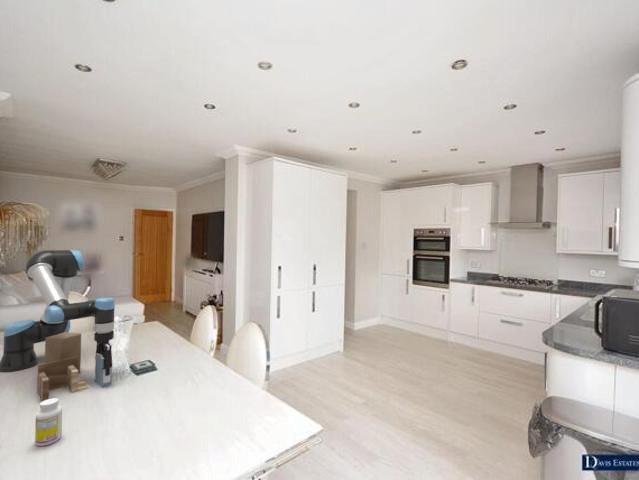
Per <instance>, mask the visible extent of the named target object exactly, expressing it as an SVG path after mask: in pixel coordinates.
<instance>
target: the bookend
mask: <svg viewBox="0 0 639 480" xmlns="http://www.w3.org/2000/svg"><path fill="white" fill-rule="evenodd" d="M66 387H67V388H68V390H69V391H70V392H71V393H72V394H74V393H77V392H80V391H84V390H87V389H89V387H90V386H89V385H88V384H87V383H86V382H85V380H79V374H78V370H77V369H76V368H75V367H74V366H73V365H71V366H67V386H66Z"/></svg>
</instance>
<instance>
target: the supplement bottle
mask: <svg viewBox="0 0 639 480" xmlns="http://www.w3.org/2000/svg"><path fill="white" fill-rule="evenodd" d="M62 424H63V408H62V406H61V405H59V398H57V397H55V398H53V397H52V398H49V399H48V400H45V401H43V402H42V401H40V403H39V410H38V411H37V412H36V414H35V427H34V429H35V430H34V431H35V434H34V436H35V438H34V442H35V445H36V446H39V447H43V446H44V447H46V446H47V445H51V444H54V443H55V442H58V441H59V439H61V438H62V434H63V433H62V431H63V430H62V429H63V428H62V427H63V425H62Z"/></svg>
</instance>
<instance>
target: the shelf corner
mask: <svg viewBox="0 0 639 480" xmlns="http://www.w3.org/2000/svg"><path fill="white" fill-rule="evenodd" d="M71 365H73V366H74V367H75V368H76V369H77V370H78V356H76V357H72V358H67V359H62V360H57V361H52V362H48V363H45V362H43V363H40V364H38V363H37V377H36V378H37V382H36V394H37V395H38V397H39V399H40V402H43V401H45V400H48V399H50V391H52V390H57V389H60V388H65V387H67V366H71Z"/></svg>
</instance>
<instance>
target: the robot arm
mask: <svg viewBox="0 0 639 480" xmlns="http://www.w3.org/2000/svg"><path fill="white" fill-rule="evenodd" d="M84 267H85V260H84V257H83V254H82V253H81V251H80V250H73V249H68V250H67V249H65V250H64V249H63V250H60V249H55V250H54V249H53V250H50V249H46V250H41V251H38V252H35V253H34V254H32V255H31V256H30V257H29V258H28V260H27V261H26V264H25V272H26V274H27V276H28V277H29V278H30V279H32V280H33V281H34V283H35V285H36V287H37V289H38V291H39V293H40V295H41V297H42V300H43V301H44V303H45V305H46V307H45V309H44V313H43V314H42V315H41V316H40V320H37V321H35V319H31V318H29V319H23V320H18V321H14V322H12V323H9V324H6V326H5V327H4V330H3V335H2V336H3V353H2V356H1V358H0V372H1V373H10V372H18V371H23V370H26V369H29V368H32V367H34V366H37V365H38V363H39V359H38V356H37V353H36V351H35V344H38V343H44V342H45V338H46V337H50V336H53V335H57V334H61V333H64V332H69V333H70V331H71V321H72V320H79V319H85V318H94V325H93V328H94V332H95V333H94V337H93V340H94V342H96V349H95V356H94V359H95V360H96V354H97V353H98V354H100V353H101V354H102V355H103V358H105V359H104V368H102V369H103V383H107V382H110V374H111V367H112V368H113V355H112V354H113V353H112V347H113V346H112V344H111V343H110V341H111V340H113V339H114V334H115V333H114V332H115V331H114V330H115V308H116V305H115V299H114V297H100V298H97V299H87V300H85V301H80V302H71V303H70V302H69V296H70V293H71V292H70V291H71V287H72V283H73V278H76V277H77V276H78V272H81V271H83V270H84Z"/></svg>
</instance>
